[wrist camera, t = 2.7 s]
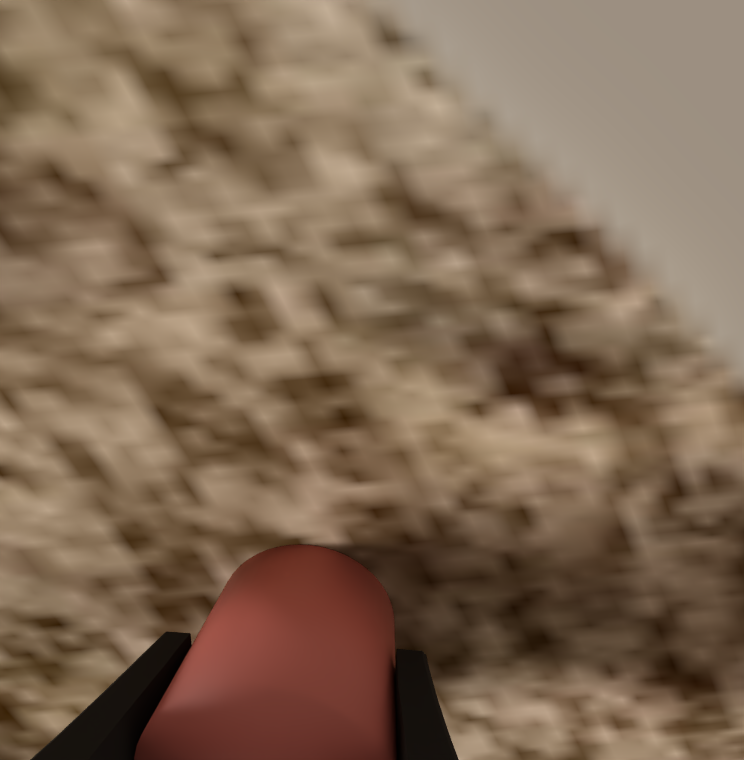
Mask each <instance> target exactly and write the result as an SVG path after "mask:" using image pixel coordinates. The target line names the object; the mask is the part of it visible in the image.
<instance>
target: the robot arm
mask: <svg viewBox="0 0 744 760" xmlns="http://www.w3.org/2000/svg"><path fill="white" fill-rule="evenodd" d="M191 646H192V645H191V635H190V633H178V632H165V633H164V634H163V635H162V636H161V637H160V638H159V639H158V640H157V641H156V642H155V643H154V644H153V645H152V646H151V647H150V648H148V649H147V650H146V651H145V652H144V653H143V654H142V655H141V656H140V657H139V658H138V659H137V660H136V661H135V662H134V663H133V664H132V665H131V666H130V667H129V668H128V669H127V670H126V671H125V672H124V673H123V674H122V675H121V676H120V677H119V678H118V679H117V680H116V681H115V682H114V683H112V684H111V685H110V686H109V687H108V688H107V689H106V690H105V691H104V692H103V693H102V694H101V695H100V696H99V697H98V698H97V699H96V700H95V701H94V702H93V703H92V704H90V705H89V706H88V707H87V708H86V709H85V710H84V711H83V712H82V713H81V714H80V715H79V716H78V717H77V718H76V719H75V720H73V721H72V722H71V723H70V724H69V725H68V726H67V727H66V728H65V729H64V730H63V731H62V732H61V733H60V734H59V735H57V736H56V737H55V738H54V739H53V740H52V741H51V742H50V743H49V744H48V745H46V746H45V747H44V748H43V749H42V750H41V751H40V752H39V753H37V754H36V755H35V756H34V757H33V758H32V759H31V760H134V756H135V751H136V747H137V744H138V741H139V739H140V737H141V734H142V733H143V731H144V729H145V727H146V726H147V724H148V722H149V720H150V718H151V717H152V715H153V713H154V711H155V710H156V708H157V706H158V704H159V703H160V701H161V699H162V697H163V695H164V694H165V692H166V690H167V688H168V687H169V685H170V683H171V681H172V680H173V678H174V676H175V674H176V672H177V671H178V669H179V667H180V665H181V664H182V662H183V660H184V658H185V657H186V655H187V653H188V651H189V649H190V648H191ZM395 700H396V747H397V760H458V757H457V754H456V752H455V749H454V746H453V743H452V741H451V738H450V735H449V732H448V729H447V726H446V723H445V720H444V717H443V714H442V711H441V708H440V705H439V702H438V699H437V695H436V692H435V689H434V685H433V681H432V678H431V674H430V670H429V666H428V662H427V657H426V655H425V653H424V652H423V651H417V650H403V649H397V653H396V668H395Z"/></svg>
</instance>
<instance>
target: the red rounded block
mask: <svg viewBox="0 0 744 760" xmlns="http://www.w3.org/2000/svg"><path fill="white" fill-rule="evenodd" d="M134 760H397V747H396V700H395V622H394V612H393V608H392V604H391V602H390V599H389V597H388V594H387V593H386V591H385V589H384V588H383V586H382V585H381V583H380V582H379V581H378V579H377V578H376V577H375V576H374V575H373V574H372V573H371V572H370V571H369V570H368V569H367V568H365V567H364V566H363V565H361V564H360V563H359V562H357V561H355V560H354V559H352V558H350V557H349V556H346V555H344V554H342V553H340V552H337V551H334V550H331V549H328V548H324V547H319V546H313V545H286V546H280V547H276V548H272V549H269V550H266V551H263V552H261V553H259V554H257V555H255V556H253V557H252V558H250V559H248V560H247V561H246V562H244V563H243V564H242V565H241V566H240V567H239V568H238V569H237V570H236V571H235V572H234V573H233V575H232V576H231V578H230V579H229V581H228V582H227V584H226V586H225V587H224V589H223V591H222V593H221V595H220V596H219V598H218V600H217V602H216V603H215V605H214V607H213V609H212V610H211V612H210V614H209V616H208V618H207V619H206V621H205V623H204V625H203V626H202V628H201V630H200V632H199V634H198V635H197V637H196V639H195V641H194V642H193V644H192V646H191V648H190V649H189V651H188V653H187V655H186V657H185V658H184V660H183V662H182V664H181V665H180V667H179V669H178V671H177V672H176V674H175V676H174V678H173V680H172V681H171V683H170V685H169V687H168V688H167V690H166V692H165V694H164V695H163V697H162V699H161V701H160V703H159V704H158V706H157V708H156V710H155V711H154V713H153V715H152V717H151V718H150V720H149V722H148V724H147V726H146V727H145V729H144V731H143V733H142V734H141V737H140V739H139V741H138V744H137V747H136V751H135V756H134Z"/></svg>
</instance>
